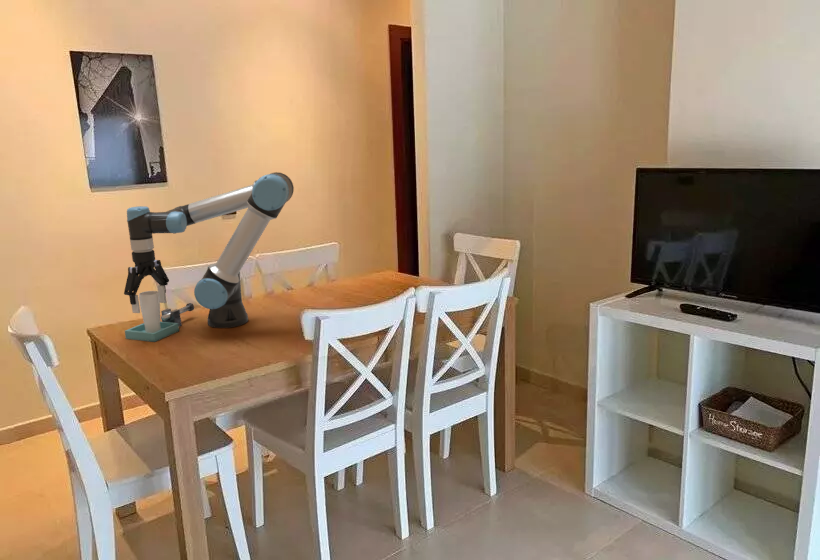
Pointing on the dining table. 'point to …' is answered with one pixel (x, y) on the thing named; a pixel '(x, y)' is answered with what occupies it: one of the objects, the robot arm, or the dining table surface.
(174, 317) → the pin mount
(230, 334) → the dining table surface
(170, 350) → the dining table surface
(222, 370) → the dining table surface
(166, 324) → the teal square tray
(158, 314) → the drinking glass
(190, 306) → the lock pin
